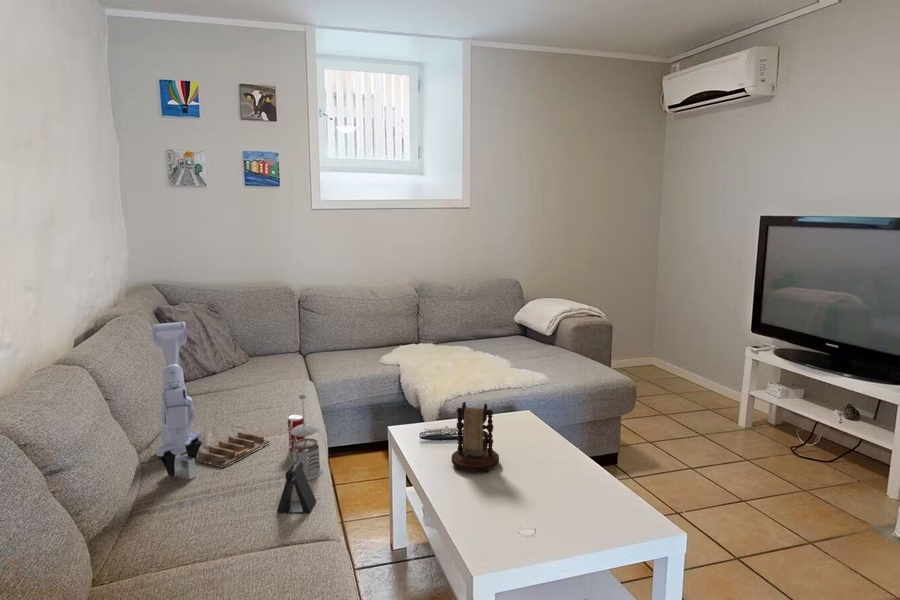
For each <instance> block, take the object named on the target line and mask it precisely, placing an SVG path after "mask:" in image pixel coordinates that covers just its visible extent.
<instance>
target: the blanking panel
mask: <svg viewBox="0 0 900 600" xmlns="http://www.w3.org/2000/svg"><path fill="white" fill-rule="evenodd" d="M172 454H175V453H172ZM175 455H176V457H175V462H174V467H175V475H176V476H180V477H183V478H182V479H184V478H188V479H191V478H193V477H195V476H197V468H196V463H195V458H192V457H188V456H187V455H183V454H180V455H179V454H175ZM176 476H175V477H176ZM180 477H179V478H180ZM195 478H196V477H195ZM188 479H187V480H188ZM193 479H194V478H193ZM191 480H192V479H191Z"/></svg>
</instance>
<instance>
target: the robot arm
mask: <svg viewBox="0 0 900 600" xmlns="http://www.w3.org/2000/svg"><path fill="white" fill-rule="evenodd" d="M186 324H187V323H186V322H185V321H184V320H183V321H176V322H165V323H153V324H152V326H151V327H152V328H151V330H152V339H153V343H154V345H155V346H156V347H155V348H159V349H160V348H161V349H162V350H163V354H164V360H165V365H166V366H165V368H163V370H162V372H161V373H162V385H163V391H161V392H162V394H161V397H162V401H161V404H160V406H161V407H160V414H161V424H162V427H161V430H160V437H161V446H160V447H157V448H156V449H155V454H156V456H157V458H158V459H159V460H160V461H161V462H162V464H163V466H164V468H165V471H166V474H167V475H169V476H173V475H175V467H174V462H175V457H176V455H175V454H179V455H183V454H185V453H186V456H188V457H192V458H195V464H196V463H197V461H196V458H197V455H198V451H200V448H201V446H202V440H201V439H202V433H201V432H200V431H195V432H192V422H193V421H194V420H195V412H194V403H193V399H192V397H191V396H189V395H187V394H188V392H187V387H186V384H185V378H184V377H185V376H184V369H183V367H182V366H181V360H180V349H181V346H184V345H186V344H187V342H188V341H187V340H188V335H187V325H186ZM173 453H175V454H173ZM173 477H174V476H173Z"/></svg>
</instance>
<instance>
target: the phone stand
mask: <svg viewBox="0 0 900 600" xmlns="http://www.w3.org/2000/svg"><path fill="white" fill-rule="evenodd" d="M295 463H296V461H295V462H294V463H292V464H291V465H290V467H289V468H288V470H287V471H286V472H285V475H284V476H285V484H284V487H283V490H282V493H281V496H280V497H281V498H280V500H279V503H278V506H277V510H276V513H277V514H300V515H301V514H304V515H305V514H306V515H307V514H310V513H312V512H311V511H312V510H313V508H314V506H315V504H316V503H317V499H316V497H315V494H314V492H313V491H312V487H311V485H310V483H309V480H307V478H306V476H305V474H304V471H303V463H302V462H300V461H299V462H298V461H297V463H298V464H297V465H296V466H295V468H294V465H295ZM294 488H295V492H296V495H297V497H298V500H292V495H293V491H294Z"/></svg>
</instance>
